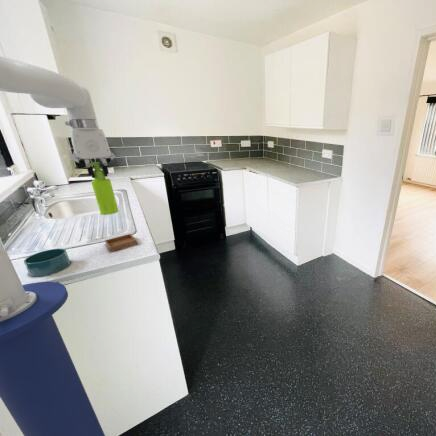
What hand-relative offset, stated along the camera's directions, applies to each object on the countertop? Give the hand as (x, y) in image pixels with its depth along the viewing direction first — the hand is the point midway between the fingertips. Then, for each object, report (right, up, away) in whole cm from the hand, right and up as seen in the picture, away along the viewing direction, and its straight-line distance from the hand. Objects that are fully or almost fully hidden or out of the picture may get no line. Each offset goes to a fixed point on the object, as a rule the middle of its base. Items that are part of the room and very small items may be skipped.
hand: (99, 176), depth 93 cm
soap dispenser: (0, -14, +5) cm, 15 cm away
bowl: (-12, -34, -7) cm, 36 cm away
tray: (+1, -27, +11) cm, 29 cm away
